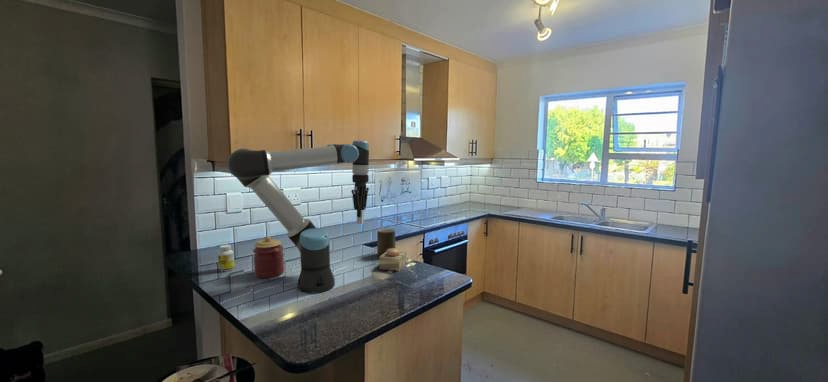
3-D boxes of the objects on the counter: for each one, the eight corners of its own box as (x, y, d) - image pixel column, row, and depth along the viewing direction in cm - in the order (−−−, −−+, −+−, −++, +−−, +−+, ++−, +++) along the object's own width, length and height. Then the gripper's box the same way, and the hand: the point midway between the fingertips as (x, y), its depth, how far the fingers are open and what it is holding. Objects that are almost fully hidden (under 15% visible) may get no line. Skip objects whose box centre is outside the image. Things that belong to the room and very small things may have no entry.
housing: (399, 271, 163) (399, 258, 163) (379, 268, 166) (379, 256, 166) (406, 264, 173) (406, 252, 172) (387, 262, 176) (387, 250, 175)
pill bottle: (217, 269, 166) (215, 246, 164) (231, 266, 170) (229, 243, 169) (222, 273, 161) (220, 248, 160) (236, 269, 166) (235, 245, 164)
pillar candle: (391, 258, 181) (391, 230, 180) (374, 256, 184) (374, 229, 183) (398, 253, 190) (398, 226, 189) (381, 251, 194) (381, 225, 192)
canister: (247, 276, 157) (245, 238, 155) (268, 267, 169) (266, 231, 167) (270, 280, 152) (268, 241, 150) (290, 270, 164) (288, 234, 162)
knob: (396, 268, 165) (396, 252, 164) (384, 266, 167) (384, 251, 166) (401, 263, 171) (401, 248, 170) (389, 262, 173) (389, 247, 172)
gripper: (361, 175, 156) (360, 226, 158) (373, 173, 168) (373, 221, 171) (346, 174, 158) (346, 225, 161) (360, 172, 170) (359, 220, 173)
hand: (360, 223), depth 166 cm, fingers closed
